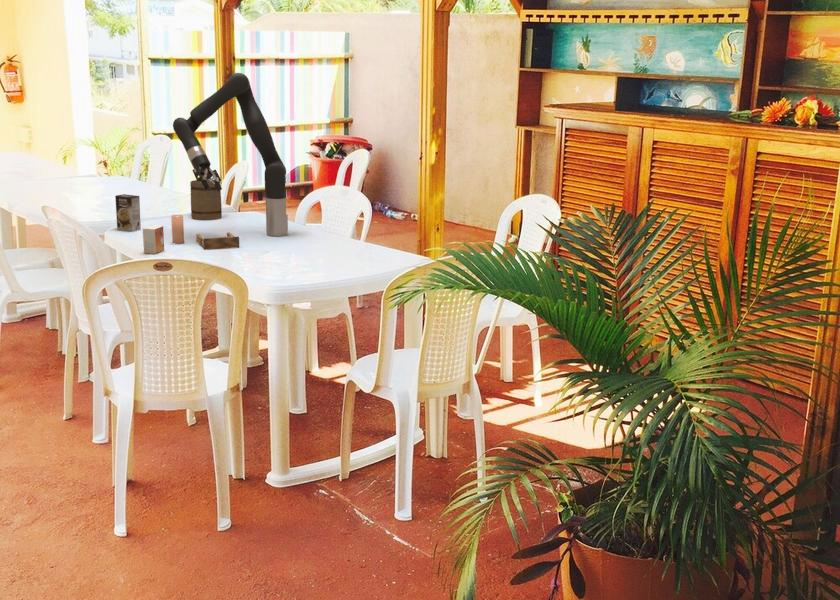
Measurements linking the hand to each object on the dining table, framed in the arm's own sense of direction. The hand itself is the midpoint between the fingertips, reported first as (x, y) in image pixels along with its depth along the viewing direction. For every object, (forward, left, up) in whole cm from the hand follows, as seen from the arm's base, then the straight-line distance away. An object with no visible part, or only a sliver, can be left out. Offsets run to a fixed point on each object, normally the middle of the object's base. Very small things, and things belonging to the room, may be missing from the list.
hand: (213, 189), depth 414 cm
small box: (+29, +13, -23) cm, 39 cm away
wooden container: (-7, -58, -23) cm, 63 cm away
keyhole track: (+1, +6, -23) cm, 24 cm away
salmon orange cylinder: (+16, -2, -23) cm, 28 cm away
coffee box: (+33, -37, -23) cm, 54 cm away
